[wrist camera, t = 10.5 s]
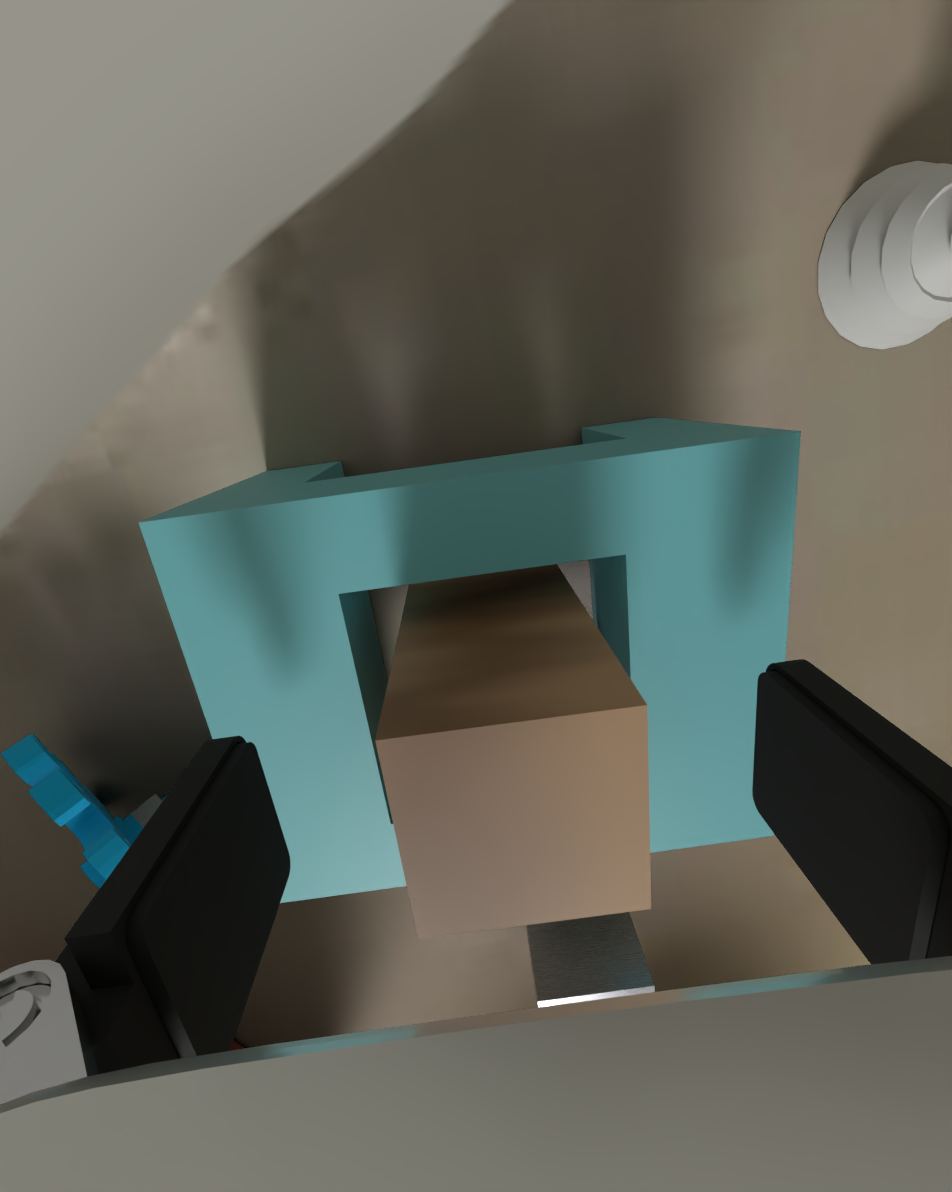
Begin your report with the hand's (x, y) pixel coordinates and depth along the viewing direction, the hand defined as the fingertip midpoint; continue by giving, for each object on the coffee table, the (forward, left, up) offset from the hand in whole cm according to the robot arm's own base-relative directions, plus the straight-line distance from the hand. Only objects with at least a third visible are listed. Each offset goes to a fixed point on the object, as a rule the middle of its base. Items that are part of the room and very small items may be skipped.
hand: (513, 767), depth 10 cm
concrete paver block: (-2, +15, -10) cm, 18 cm away
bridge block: (0, 0, -10) cm, 10 cm away
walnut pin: (0, 0, -10) cm, 10 cm away
